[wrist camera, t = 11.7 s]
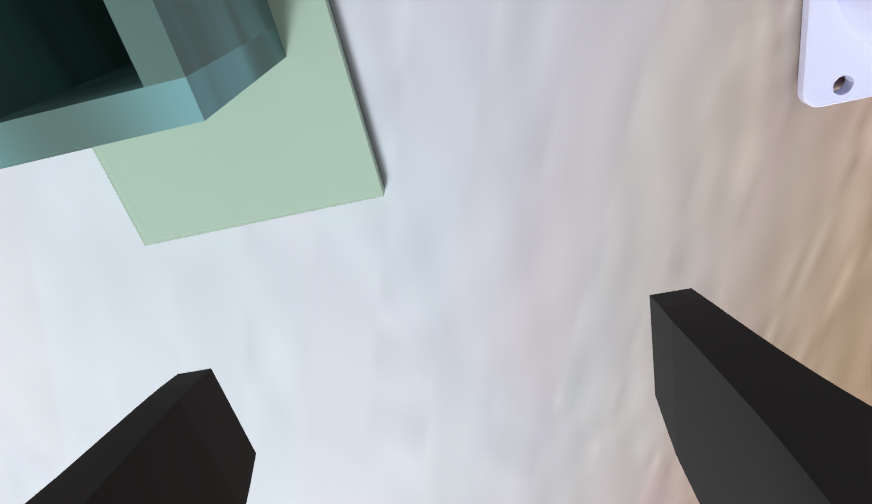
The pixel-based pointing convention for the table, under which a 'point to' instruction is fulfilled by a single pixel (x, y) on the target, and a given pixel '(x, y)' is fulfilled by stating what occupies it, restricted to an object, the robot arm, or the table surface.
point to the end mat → (256, 144)
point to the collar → (122, 68)
